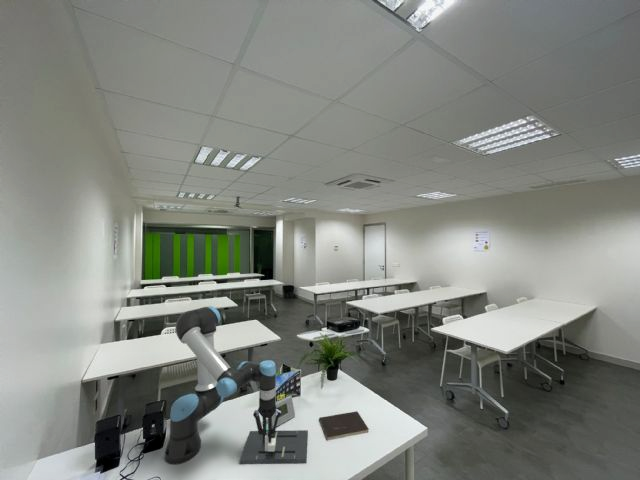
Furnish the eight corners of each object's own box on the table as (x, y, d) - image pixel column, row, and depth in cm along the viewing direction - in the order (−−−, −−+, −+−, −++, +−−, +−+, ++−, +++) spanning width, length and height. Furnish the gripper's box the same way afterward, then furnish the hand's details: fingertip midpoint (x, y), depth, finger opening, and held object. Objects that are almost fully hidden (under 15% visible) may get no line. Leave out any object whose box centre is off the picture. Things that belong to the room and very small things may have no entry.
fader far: (262, 438, 123) (262, 430, 124) (263, 432, 128) (263, 424, 128) (268, 438, 124) (268, 430, 124) (269, 432, 128) (269, 423, 128)
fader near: (267, 455, 114) (267, 445, 114) (269, 447, 118) (269, 438, 118) (274, 455, 114) (274, 445, 114) (275, 447, 118) (276, 438, 118)
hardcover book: (368, 433, 131) (368, 429, 131) (326, 441, 126) (326, 437, 126) (357, 414, 147) (356, 410, 147) (319, 421, 141) (319, 416, 141)
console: (239, 464, 111) (239, 459, 112) (250, 435, 129) (250, 430, 130) (306, 463, 112) (306, 458, 112) (307, 434, 130) (307, 430, 130)
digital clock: (270, 430, 133) (271, 410, 133) (264, 421, 140) (265, 401, 141) (298, 420, 141) (298, 400, 142) (291, 411, 149) (291, 393, 149)
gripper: (251, 401, 113) (250, 455, 112) (280, 400, 113) (279, 455, 112) (255, 392, 121) (255, 442, 119) (282, 391, 121) (282, 442, 119)
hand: (267, 448), depth 116 cm, fingers closed
